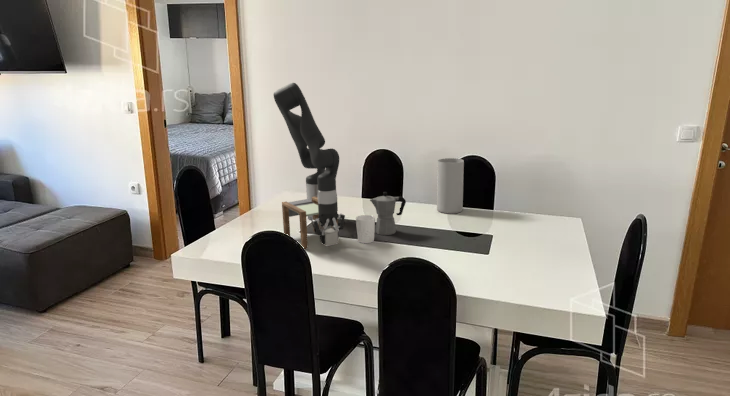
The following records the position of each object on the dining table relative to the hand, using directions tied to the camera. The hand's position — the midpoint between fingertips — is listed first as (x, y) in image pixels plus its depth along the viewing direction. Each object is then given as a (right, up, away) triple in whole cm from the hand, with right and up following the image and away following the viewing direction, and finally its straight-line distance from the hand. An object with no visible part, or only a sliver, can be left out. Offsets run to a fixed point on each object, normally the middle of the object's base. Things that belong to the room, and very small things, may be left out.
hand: (329, 241), depth 203 cm
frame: (-9, 0, +14) cm, 16 cm away
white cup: (+14, -1, +10) cm, 18 cm away
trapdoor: (-11, +9, +14) cm, 20 cm away
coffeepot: (+24, +2, +21) cm, 32 cm away
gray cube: (0, 0, 0) cm, 0 cm away
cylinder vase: (+56, +11, +51) cm, 76 cm away
